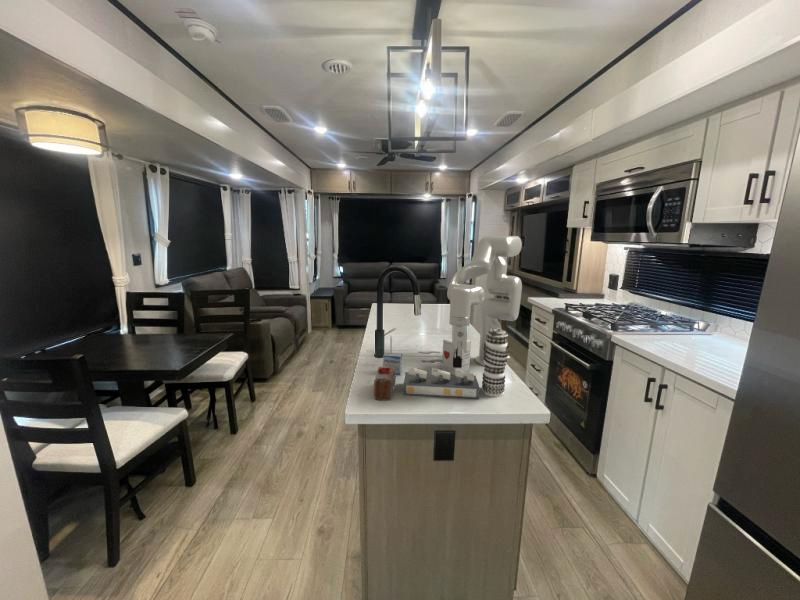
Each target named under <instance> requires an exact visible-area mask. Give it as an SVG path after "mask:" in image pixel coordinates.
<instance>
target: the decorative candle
mask: <svg viewBox="0 0 800 600" xmlns="http://www.w3.org/2000/svg"><path fill="white" fill-rule="evenodd" d="M486 334H487V336H486V342H485V343H484V353H483V354H484V356H483V357H484V364H485V366H484V368H483V373H482V381H481V383H482V385H481V391H482V393H483V394H484V395H486V396H489V397H493V398H495V397H496V398H498V397H502V396H504V394H505V387H506V384H505V383H506V371H505V370H506V368H505V367H507V362H508V360H507V359H505V357H507V356H509V355H508V354H509V350H508V348H509V347H510V345H508V336H509V334H508V333H507V332H506V330H504V328H503V329H502V328H501V329H498V328H492V329H490V330H489V331H488V332H486ZM485 353H486V354H485Z"/></svg>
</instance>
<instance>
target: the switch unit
mask: <svg viewBox="0 0 800 600" xmlns="http://www.w3.org/2000/svg"><path fill="white" fill-rule="evenodd" d="M408 372H409V371H405V374H404V379H403V396H411V397H412V396H414V397H427V398H428V397H430V398H431V397H432V398H448V399H450V398H451V399H466V400H467V399H468V400H469V399H470V400H479V399H480V398H479V396H480V385H479V382H478V378H477V376H476V375H475V374H473V375H474V381H471V380H468V379H467V376H464V377H463V378H461V377H457V376H455V374H450V380H448V379H445V378H443V375H440V376H439V377H438V376H434V375H432V372H430V373H429V372H427V376H426V379H425V378H422V377H419V374H416V376H415V375H411V374H408Z"/></svg>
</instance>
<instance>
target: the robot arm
mask: <svg viewBox="0 0 800 600" xmlns="http://www.w3.org/2000/svg"><path fill="white" fill-rule="evenodd" d="M522 246H523V243H522V239H521V238H520V237H519V236H518V235H487V236H483V237H482V238H481V239H480V240H479V241H478V243H477V246H476V248H475V250H474V253H473V255H472V258H471V260H470V262H468V263H467V264H465V265H464V266H462V267H461V268H460V269H459V270H457V271H456V272H454V274H453V276H452V278H451V280H450V282H449V284H448V287H447V293H446V295H447V296H446V297H447V299H448V300H449V301H450V302H449V303H450V304H449V306H450V307H449V320H448V321H449V322H448V323H449V325H450V326H452V328H451V337H452V347H453V351H454V356H453V367H454V368H461V367H462V348H463V351H464V352H465V353H466V352H467V339H468V327H469V326H471V311H472V309H471V307H472V306H479V311H480V335H479V348H478V350H479V352H478V356H476V357H475V362H476V363H477V364H478V365H481V366H485V364H484V357H483V356H484V354H483V353H484V343H485V342H486V336H487V334H486V332H488V331H489V330H490V329H492V328H498V329H502V325H501V323H500V321H499V320H503V321H507V322H508V321H509V322H514V321H516V320H517V319H518V317H519V314H520V308H521V299H522V290H523V283H522V280H521V278H520V277H518V276H516V275H507V271H508V270H507V269H508V263H507V261H506V260H505V258H512V257H515V256H518V255H519V254H520V252H521V251H522V248H523V247H522ZM483 275H486V280H485V281H486V282H485V290H484V288H483V287H482V286H480V285H475V284H465V282H467V281H469V280H472V279H475V278H478V277H482V276H483ZM485 291H486V293H487V294H490V295H492V296H499V297H508V299H506V298H498V297H497V298H496V297H486V293H485ZM485 354H486V353H485ZM505 359H507V361H510V360H511V357H510V356H509V355H508V356H507V357H505Z"/></svg>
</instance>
